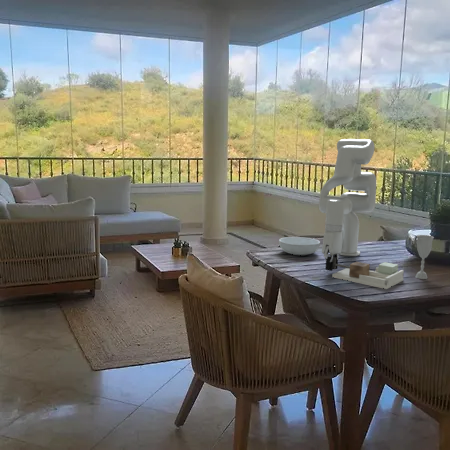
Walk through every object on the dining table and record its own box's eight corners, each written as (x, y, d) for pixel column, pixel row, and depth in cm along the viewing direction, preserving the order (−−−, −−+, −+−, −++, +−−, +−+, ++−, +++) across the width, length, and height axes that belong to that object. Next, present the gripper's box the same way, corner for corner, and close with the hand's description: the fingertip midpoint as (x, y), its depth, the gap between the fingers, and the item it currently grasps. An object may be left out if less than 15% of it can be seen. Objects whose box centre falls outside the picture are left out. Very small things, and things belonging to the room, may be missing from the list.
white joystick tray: (332, 277, 213) (333, 261, 212) (350, 269, 226) (351, 255, 225) (386, 289, 198) (388, 272, 197) (403, 280, 211) (404, 264, 209)
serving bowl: (328, 254, 254) (328, 241, 253) (299, 260, 241) (300, 246, 240) (297, 247, 270) (298, 234, 269) (270, 252, 257) (270, 239, 256)
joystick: (324, 270, 217) (325, 257, 216) (331, 267, 221) (331, 255, 220) (362, 278, 206) (363, 265, 205) (368, 275, 210) (369, 262, 209)
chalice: (421, 280, 211) (425, 238, 208) (409, 276, 217) (412, 235, 214) (433, 278, 215) (437, 237, 211) (421, 274, 221) (424, 234, 217)
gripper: (335, 224, 223) (332, 264, 227) (316, 229, 211) (314, 271, 214) (350, 226, 219) (347, 267, 222) (332, 231, 206) (330, 274, 209)
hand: (331, 268), depth 218 cm, fingers closed on joystick, 3 cm apart
